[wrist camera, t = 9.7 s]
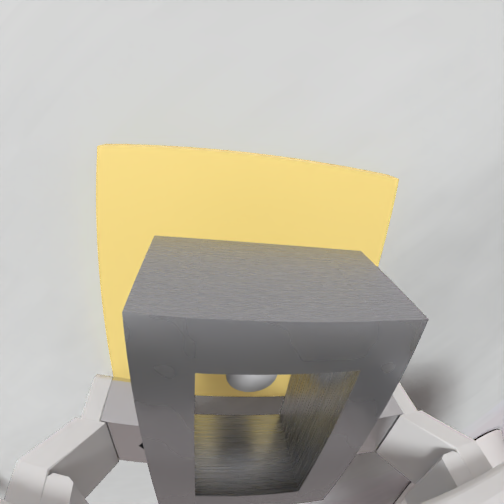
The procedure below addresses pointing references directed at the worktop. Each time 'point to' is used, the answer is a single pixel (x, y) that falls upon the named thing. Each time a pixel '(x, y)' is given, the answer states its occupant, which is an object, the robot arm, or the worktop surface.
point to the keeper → (225, 221)
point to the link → (261, 364)
